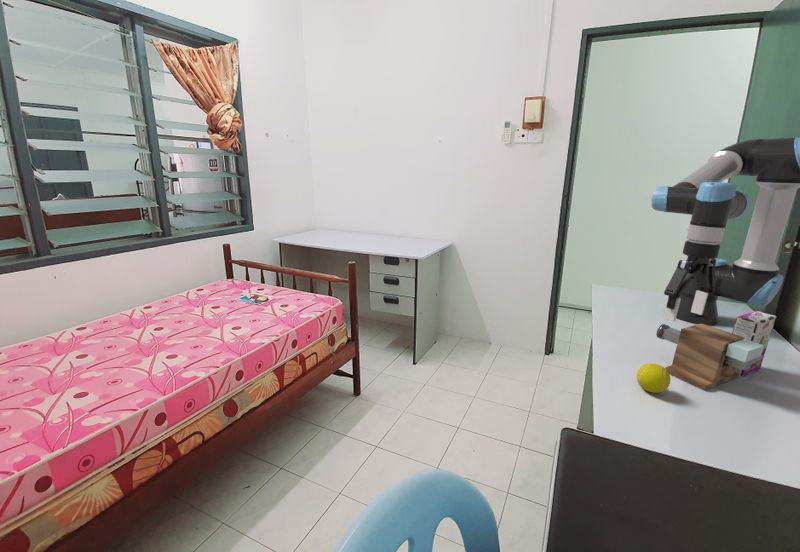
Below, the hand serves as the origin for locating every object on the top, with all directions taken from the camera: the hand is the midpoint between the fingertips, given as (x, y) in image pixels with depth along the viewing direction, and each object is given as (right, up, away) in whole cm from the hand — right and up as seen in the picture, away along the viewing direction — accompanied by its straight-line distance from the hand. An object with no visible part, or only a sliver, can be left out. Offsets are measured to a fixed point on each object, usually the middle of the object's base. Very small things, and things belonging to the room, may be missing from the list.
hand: (683, 316), depth 108 cm
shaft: (+3, -10, -2) cm, 10 cm away
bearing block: (+3, -16, -2) cm, 16 cm away
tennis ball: (-16, -18, -10) cm, 26 cm away
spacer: (+7, -9, -11) cm, 16 cm away
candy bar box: (+18, -15, +2) cm, 23 cm away
